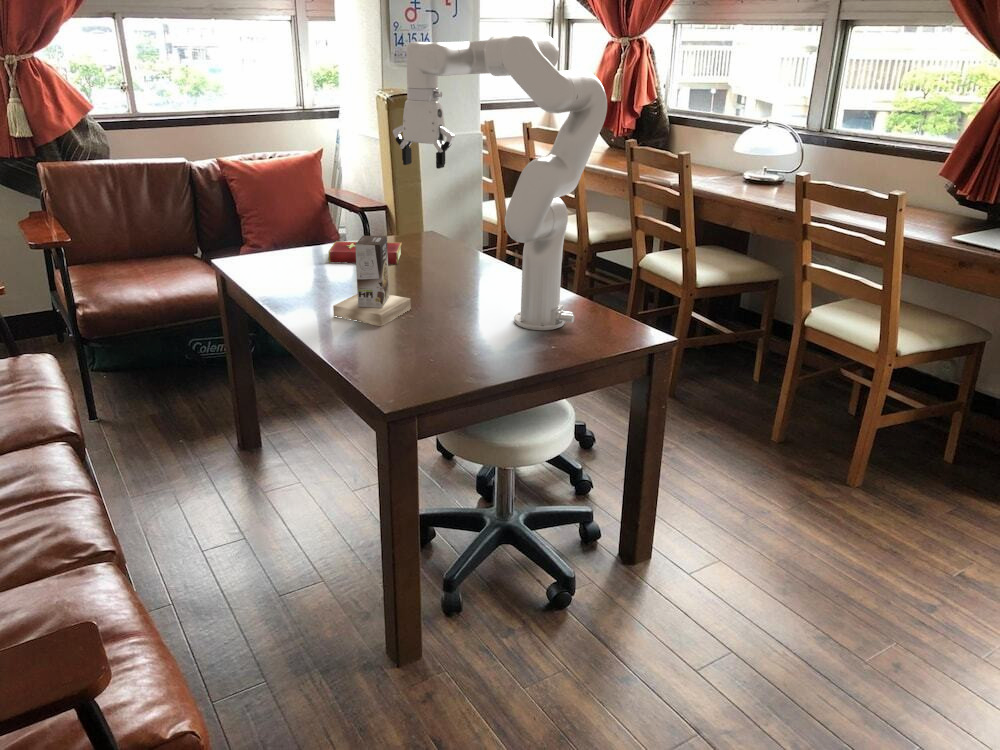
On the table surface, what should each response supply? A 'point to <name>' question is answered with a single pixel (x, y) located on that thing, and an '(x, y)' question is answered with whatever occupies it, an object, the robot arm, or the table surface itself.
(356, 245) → the coffee box
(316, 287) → the table surface
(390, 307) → the birch base
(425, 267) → the table surface
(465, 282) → the table surface
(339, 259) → the hardcover book
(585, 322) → the table surface
